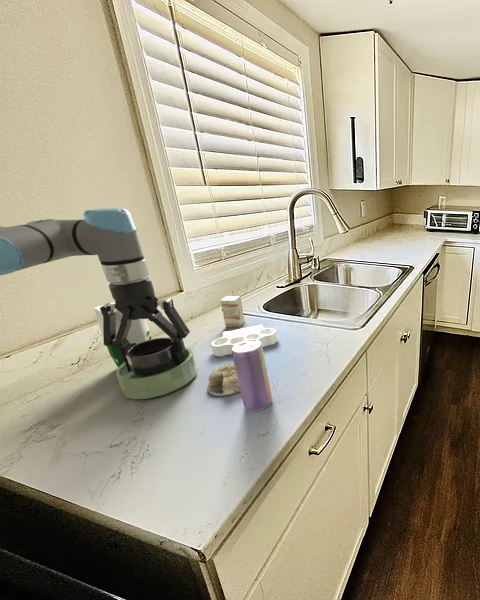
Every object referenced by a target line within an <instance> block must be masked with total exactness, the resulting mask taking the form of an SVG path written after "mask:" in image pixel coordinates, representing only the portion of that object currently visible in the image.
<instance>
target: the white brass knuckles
mask: <svg viewBox="0 0 480 600" xmlns="http://www.w3.org/2000/svg"><path fill="white" fill-rule="evenodd" d="M245 340H258V341H260V342H261V345H262V347H263V348H265V347H267V346H272V345H275V344H277V342H278V334H277V330H276V329H275V328H272V327H264V326H263V324H258V325H253V326H248V327H241V328H239V329H232V330H228V331H223V332H222V336H221V337H218V338H216V339H214V340H213V341H211V343H210V345H211V349H212V350H211V351H212V354H213V356H215V357H224V356H229V355H232V352H233V350H232V348H233V346H234V345H236V344H237V343H239V342H242V341H245Z"/></svg>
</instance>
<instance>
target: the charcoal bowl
mask: <svg viewBox="0 0 480 600" xmlns="http://www.w3.org/2000/svg"><path fill="white" fill-rule="evenodd" d="M171 341H172V339H171V338H170V337H166V336H165V337H163V336H162V337H155V338H151V340H147V341H144V342H141V343H138V344H136V345H134V346H133V347H131V348H129V349H128V350H127V351H126V357H127V360H128V363H129V365H130V368H131V371H132V373H133V374H135V375H141V376H146V375H154V374H158V373H161V372H164V371H166V370H168V369H170V368H172V367H173V366H174V365H176V361H175V357H174V354H173V351H172V347H171V344H170V342H171Z"/></svg>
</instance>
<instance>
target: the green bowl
mask: <svg viewBox="0 0 480 600" xmlns="http://www.w3.org/2000/svg"><path fill="white" fill-rule="evenodd" d="M183 356H184V359H185V360H184V361H183V363H181V364H180V365H179V366H177V364H176V365H174V366H173V367H172V368H170V369H168V370H166V371H164V372H161V373H158V374H154V375H146V376H141V375H135V374H133V373H132V371H128V369H127V366H126V364H125V362H124V363H123V364H122V365H120V366H119V367H117V369H116V371H115V375H116V378H117V381H118V383H119V386H120V388H121V391H122V394H123V396H124V397H126V398H127V399H131V400H144V399H145V400H146V399H153V398H156V397H160V396H164V395H167V394H169V393H172V392H174V391H176V390H179V389H180V388H182V387H184V386H186V385H187V384H188V383H190V382H191V381H192V380H193V379H194V378H195V377H196V375H197V373H198V367H197V364H196V361H195V357H194V353H193V351H192V350H191V348H189V347H186V346H185V349H184V350H183Z"/></svg>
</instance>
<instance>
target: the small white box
mask: <svg viewBox="0 0 480 600" xmlns="http://www.w3.org/2000/svg"><path fill="white" fill-rule="evenodd" d="M220 305H221V310H222V311H221V312H222V316H223V320H224V325H225V327H226V328H239V327H240V328H241V326H243V324H245V323H246V321H245V315H244V310H243V309H244V308H243V303H242V297H241V295H226V296H224V297H223V298H221V299H220Z"/></svg>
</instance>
